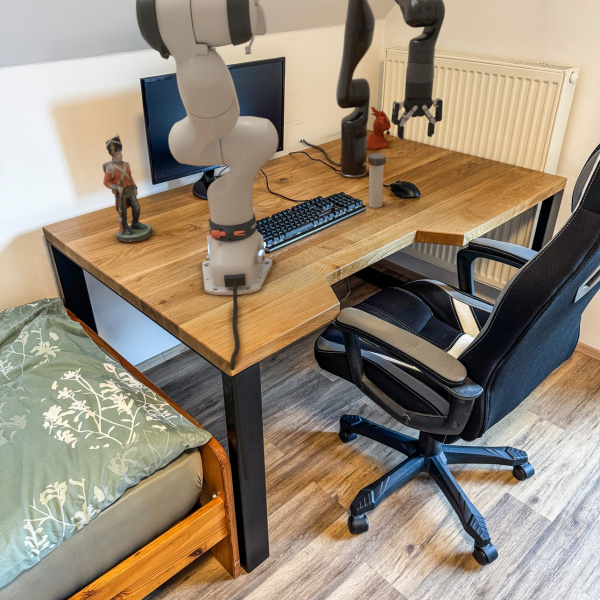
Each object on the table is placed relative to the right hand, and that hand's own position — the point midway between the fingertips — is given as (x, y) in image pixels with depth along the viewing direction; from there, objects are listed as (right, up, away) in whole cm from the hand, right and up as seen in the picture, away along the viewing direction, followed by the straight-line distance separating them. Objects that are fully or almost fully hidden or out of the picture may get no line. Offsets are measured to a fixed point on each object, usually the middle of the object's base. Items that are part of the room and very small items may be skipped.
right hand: (415, 137), depth 164 cm
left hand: (-52, +19, -12) cm, 57 cm away
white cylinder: (-9, -16, +19) cm, 27 cm away
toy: (-3, +18, +73) cm, 75 cm away
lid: (-10, -3, +10) cm, 15 cm away
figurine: (-83, -28, +6) cm, 88 cm away
